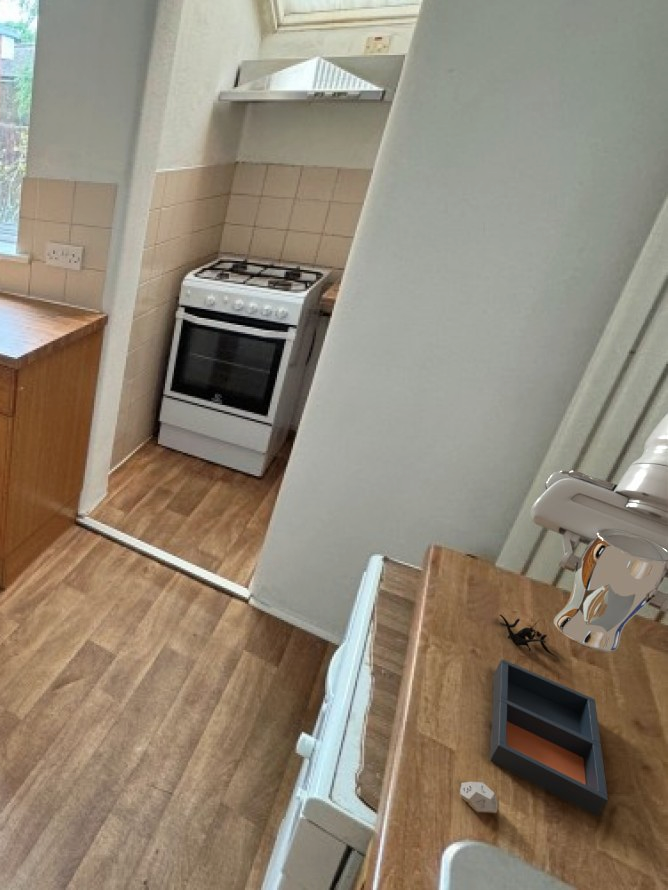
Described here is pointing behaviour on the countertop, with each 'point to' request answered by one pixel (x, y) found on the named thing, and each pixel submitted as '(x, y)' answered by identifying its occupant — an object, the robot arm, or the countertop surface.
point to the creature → (525, 635)
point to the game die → (479, 797)
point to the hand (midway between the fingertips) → (610, 587)
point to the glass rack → (548, 736)
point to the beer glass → (609, 591)
